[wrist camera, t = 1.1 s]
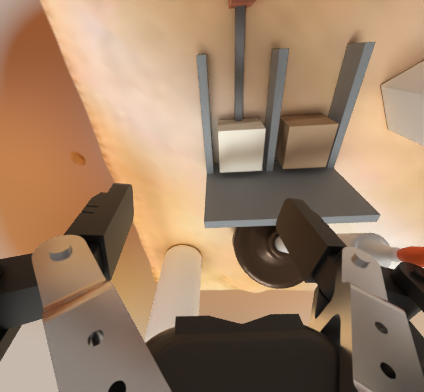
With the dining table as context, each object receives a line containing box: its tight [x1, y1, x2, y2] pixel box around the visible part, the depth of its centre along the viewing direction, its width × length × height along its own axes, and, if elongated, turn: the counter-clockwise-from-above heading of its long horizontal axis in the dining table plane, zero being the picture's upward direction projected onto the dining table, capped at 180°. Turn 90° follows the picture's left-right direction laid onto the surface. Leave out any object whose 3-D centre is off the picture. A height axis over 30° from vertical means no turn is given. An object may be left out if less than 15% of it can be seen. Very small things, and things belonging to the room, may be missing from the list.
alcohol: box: [145, 245, 202, 343], centre depth 36 cm, size 9×9×30 cm
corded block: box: [218, 0, 266, 173], centre depth 24 cm, size 21×6×6 cm, turn 4°
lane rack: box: [197, 42, 380, 228], centre depth 23 cm, size 16×19×14 cm
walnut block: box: [275, 114, 339, 169], centre depth 29 cm, size 6×6×5 cm
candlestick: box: [233, 225, 424, 289], centre depth 22 cm, size 11×11×35 cm
